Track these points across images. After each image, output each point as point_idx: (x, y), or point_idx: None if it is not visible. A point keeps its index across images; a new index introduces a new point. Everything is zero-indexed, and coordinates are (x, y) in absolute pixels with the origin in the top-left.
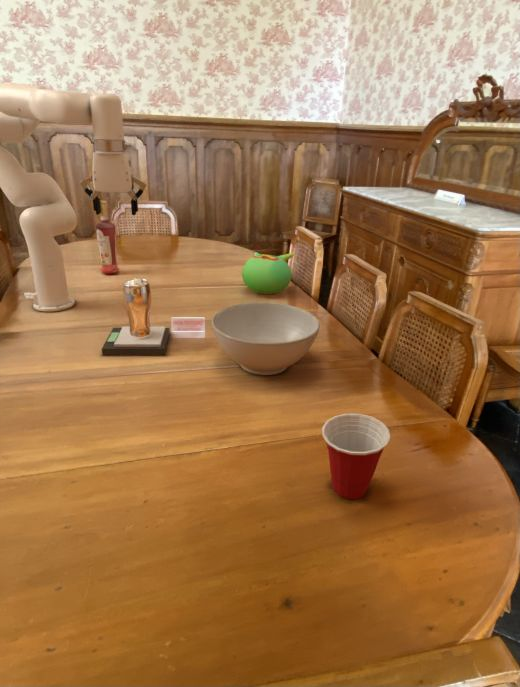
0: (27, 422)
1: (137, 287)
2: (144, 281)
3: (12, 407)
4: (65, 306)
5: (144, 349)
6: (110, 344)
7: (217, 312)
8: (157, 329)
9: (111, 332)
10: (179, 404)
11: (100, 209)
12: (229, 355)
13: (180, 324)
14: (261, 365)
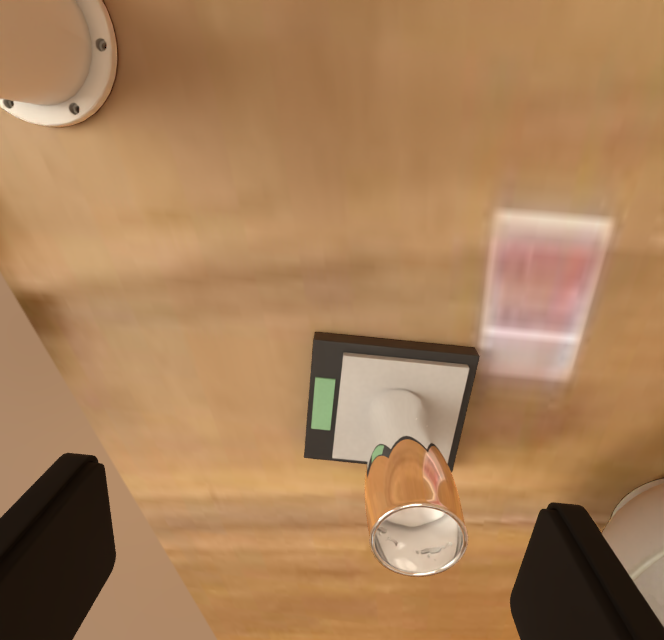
0: (234, 619)
1: (421, 571)
2: (448, 508)
3: (196, 587)
4: (99, 99)
5: None
6: (321, 440)
7: (644, 571)
8: (444, 386)
9: (313, 372)
10: (459, 611)
11: (80, 514)
12: None
13: (515, 279)
14: None
